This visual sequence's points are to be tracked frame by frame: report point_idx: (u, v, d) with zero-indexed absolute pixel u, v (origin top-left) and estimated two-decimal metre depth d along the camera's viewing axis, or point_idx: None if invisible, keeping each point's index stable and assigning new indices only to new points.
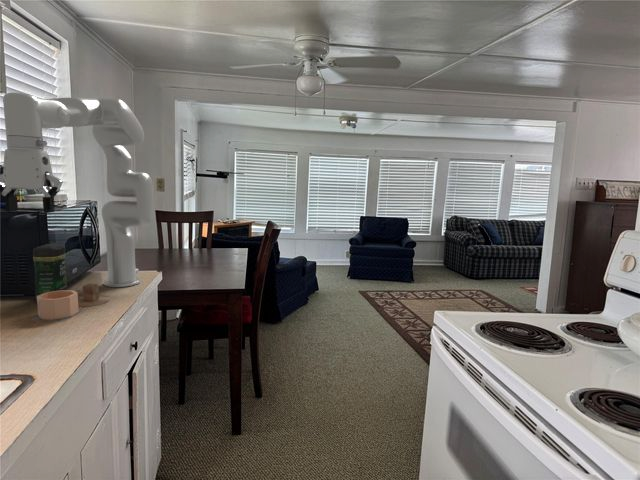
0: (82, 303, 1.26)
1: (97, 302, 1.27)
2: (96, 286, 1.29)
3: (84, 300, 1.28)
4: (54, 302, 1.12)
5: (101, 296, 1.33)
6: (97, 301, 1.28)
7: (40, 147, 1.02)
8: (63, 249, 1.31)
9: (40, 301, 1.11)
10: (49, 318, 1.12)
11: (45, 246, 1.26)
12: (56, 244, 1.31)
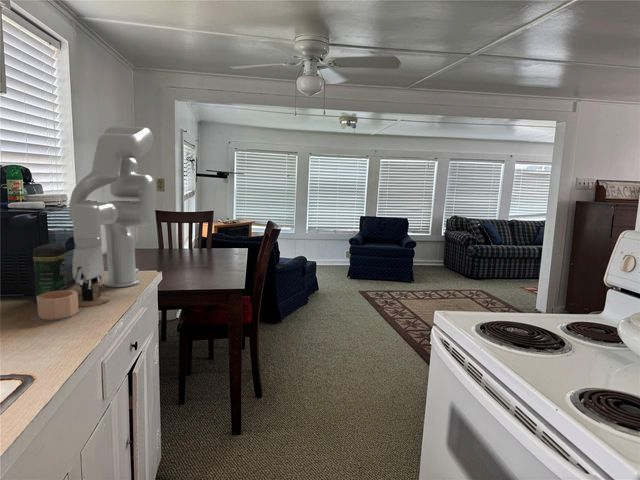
0: (82, 302, 1.26)
1: (97, 302, 1.27)
2: (96, 285, 1.29)
3: None
4: (54, 302, 1.12)
5: (101, 295, 1.33)
6: (98, 300, 1.28)
7: None
8: (63, 249, 1.31)
9: (40, 301, 1.11)
10: (49, 318, 1.12)
11: (45, 246, 1.26)
12: (56, 244, 1.31)
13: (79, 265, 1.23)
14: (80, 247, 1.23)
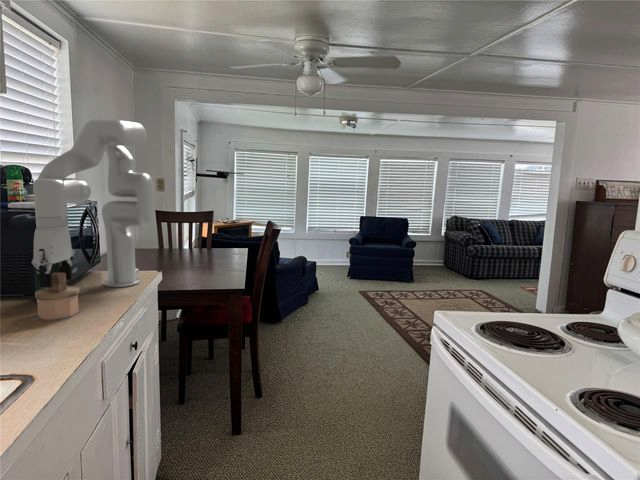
0: (46, 294, 1.12)
1: (63, 293, 1.13)
2: (63, 275, 1.16)
3: (49, 291, 1.14)
4: (54, 302, 1.12)
5: (70, 287, 1.20)
6: (64, 292, 1.14)
7: None
8: None
9: (40, 301, 1.11)
10: (49, 318, 1.12)
11: None
12: None
13: (40, 247, 1.09)
14: (42, 227, 1.09)
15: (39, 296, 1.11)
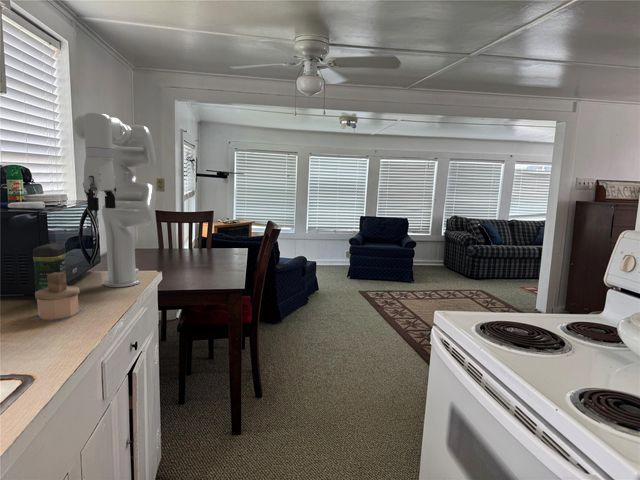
0: (46, 294, 1.12)
1: (63, 293, 1.13)
2: (63, 275, 1.16)
3: (49, 291, 1.14)
4: (54, 302, 1.12)
5: (70, 287, 1.20)
6: (64, 292, 1.14)
7: None
8: (63, 249, 1.31)
9: (40, 301, 1.11)
10: (49, 318, 1.12)
11: (45, 246, 1.26)
12: (56, 244, 1.31)
13: (90, 174, 1.21)
14: (92, 156, 1.21)
15: (39, 296, 1.11)
